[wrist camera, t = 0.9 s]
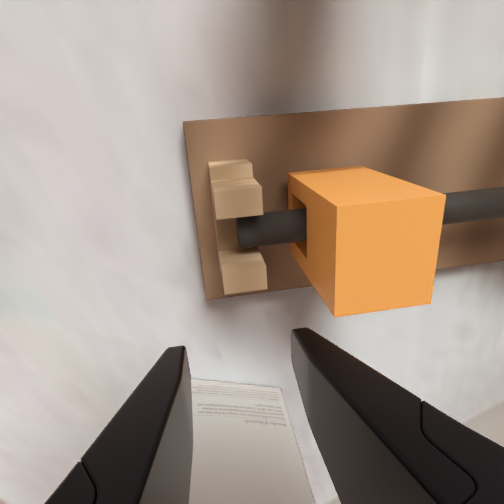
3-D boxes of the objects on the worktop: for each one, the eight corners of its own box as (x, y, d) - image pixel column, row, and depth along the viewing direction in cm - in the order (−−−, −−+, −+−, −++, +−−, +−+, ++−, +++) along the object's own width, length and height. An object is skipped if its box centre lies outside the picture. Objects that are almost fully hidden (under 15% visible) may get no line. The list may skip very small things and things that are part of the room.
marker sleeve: (360, 165, 19) (446, 194, 13) (357, 243, 21) (430, 303, 14) (287, 172, 19) (337, 206, 12) (289, 251, 20) (334, 317, 14)
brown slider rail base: (588, 91, 21) (725, 85, 16) (547, 246, 25) (645, 284, 20) (183, 121, 19) (179, 127, 13) (205, 290, 22) (209, 349, 17)
